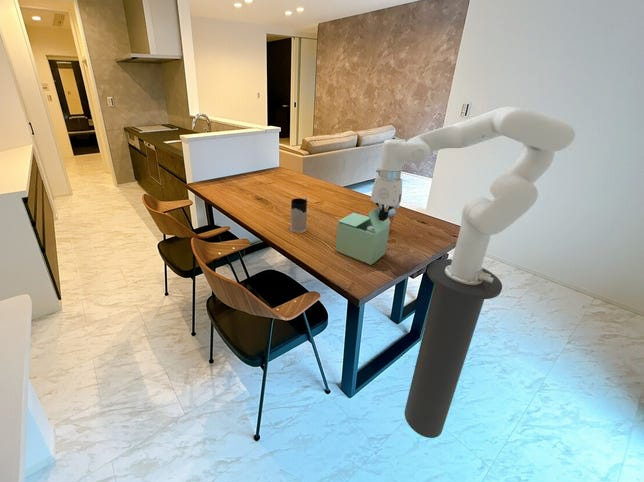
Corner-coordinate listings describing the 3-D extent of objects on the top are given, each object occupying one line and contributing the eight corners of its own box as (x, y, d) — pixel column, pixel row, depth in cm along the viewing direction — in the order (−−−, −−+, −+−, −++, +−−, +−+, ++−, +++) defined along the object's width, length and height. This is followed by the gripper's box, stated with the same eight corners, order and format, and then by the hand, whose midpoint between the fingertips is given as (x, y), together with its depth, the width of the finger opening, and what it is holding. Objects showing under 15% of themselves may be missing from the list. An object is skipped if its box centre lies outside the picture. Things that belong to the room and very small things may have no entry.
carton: (385, 253, 126) (390, 223, 121) (371, 265, 118) (375, 232, 112) (350, 240, 137) (353, 212, 132) (335, 250, 129) (337, 220, 123)
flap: (389, 223, 121) (390, 223, 121) (375, 233, 113) (376, 233, 112) (383, 204, 121) (383, 204, 121) (367, 212, 112) (368, 212, 112)
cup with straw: (371, 230, 147) (376, 197, 139) (377, 223, 154) (382, 191, 146) (390, 235, 142) (396, 201, 134) (395, 228, 149) (401, 195, 141)
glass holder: (286, 230, 148) (287, 202, 141) (298, 219, 159) (298, 193, 152) (303, 234, 144) (304, 206, 137) (313, 222, 155) (314, 195, 149)
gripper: (366, 172, 111) (360, 217, 118) (406, 179, 102) (397, 228, 108) (375, 168, 116) (369, 212, 123) (414, 175, 107) (405, 222, 113)
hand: (382, 219), depth 116 cm, fingers closed
